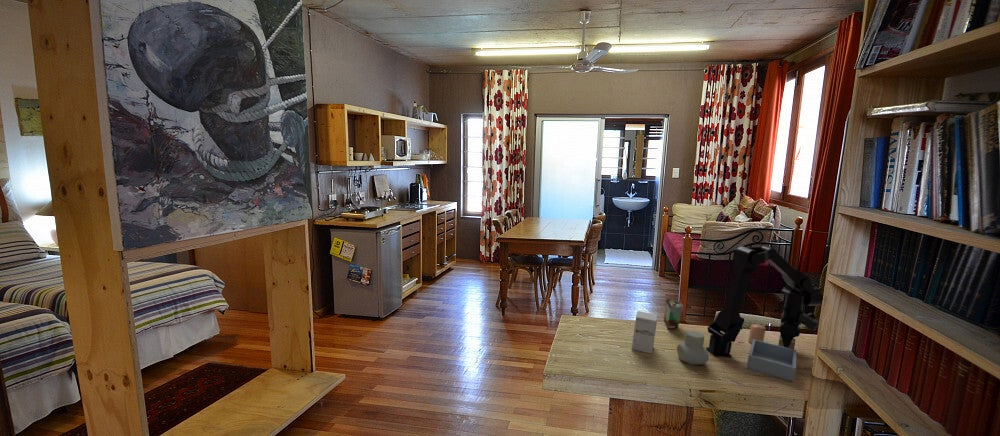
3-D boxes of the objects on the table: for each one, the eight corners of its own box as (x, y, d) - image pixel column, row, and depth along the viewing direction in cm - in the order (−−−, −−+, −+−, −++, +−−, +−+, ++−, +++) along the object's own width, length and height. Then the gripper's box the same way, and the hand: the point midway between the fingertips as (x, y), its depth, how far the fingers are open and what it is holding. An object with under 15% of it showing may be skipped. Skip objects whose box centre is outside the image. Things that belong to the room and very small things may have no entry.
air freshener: (673, 353, 163) (677, 326, 161) (697, 354, 163) (700, 328, 161) (685, 367, 152) (689, 339, 150) (709, 369, 152) (714, 341, 150)
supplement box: (631, 349, 163) (635, 316, 161) (633, 342, 170) (637, 310, 168) (652, 354, 160) (656, 320, 158) (653, 346, 167) (658, 314, 165)
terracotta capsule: (753, 346, 174) (756, 328, 173) (745, 340, 179) (748, 323, 178) (765, 346, 174) (768, 329, 173) (757, 340, 179) (760, 324, 178)
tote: (793, 382, 147) (795, 368, 146) (746, 369, 154) (748, 355, 153) (793, 363, 161) (796, 350, 161) (751, 351, 169) (753, 338, 168)
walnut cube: (792, 355, 168) (795, 343, 167) (777, 351, 171) (779, 339, 170) (793, 351, 172) (795, 338, 171) (777, 347, 175) (780, 335, 174)
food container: (683, 333, 182) (687, 309, 180) (667, 330, 183) (671, 307, 181) (678, 321, 194) (681, 299, 192) (663, 319, 195) (666, 297, 193)
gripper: (820, 317, 156) (812, 359, 159) (818, 304, 172) (811, 342, 174) (783, 309, 162) (775, 350, 165) (784, 297, 178) (777, 334, 180)
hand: (786, 344), depth 171 cm, fingers open, 9 cm apart
